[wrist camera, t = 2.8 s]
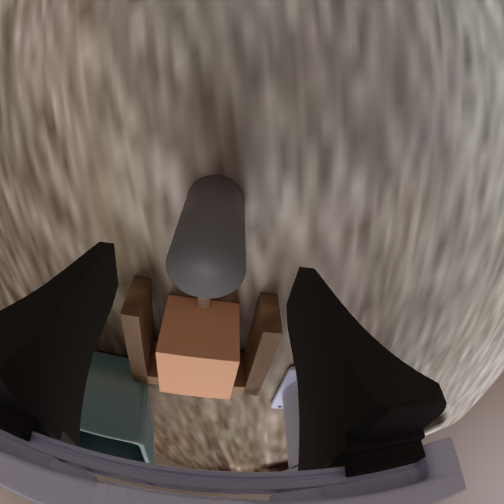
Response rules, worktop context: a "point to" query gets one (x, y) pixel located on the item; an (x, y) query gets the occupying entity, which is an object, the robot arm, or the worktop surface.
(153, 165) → the worktop surface
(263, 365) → the lane
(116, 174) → the worktop surface
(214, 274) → the tethered block
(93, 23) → the worktop surface
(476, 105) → the worktop surface
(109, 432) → the flower pot
